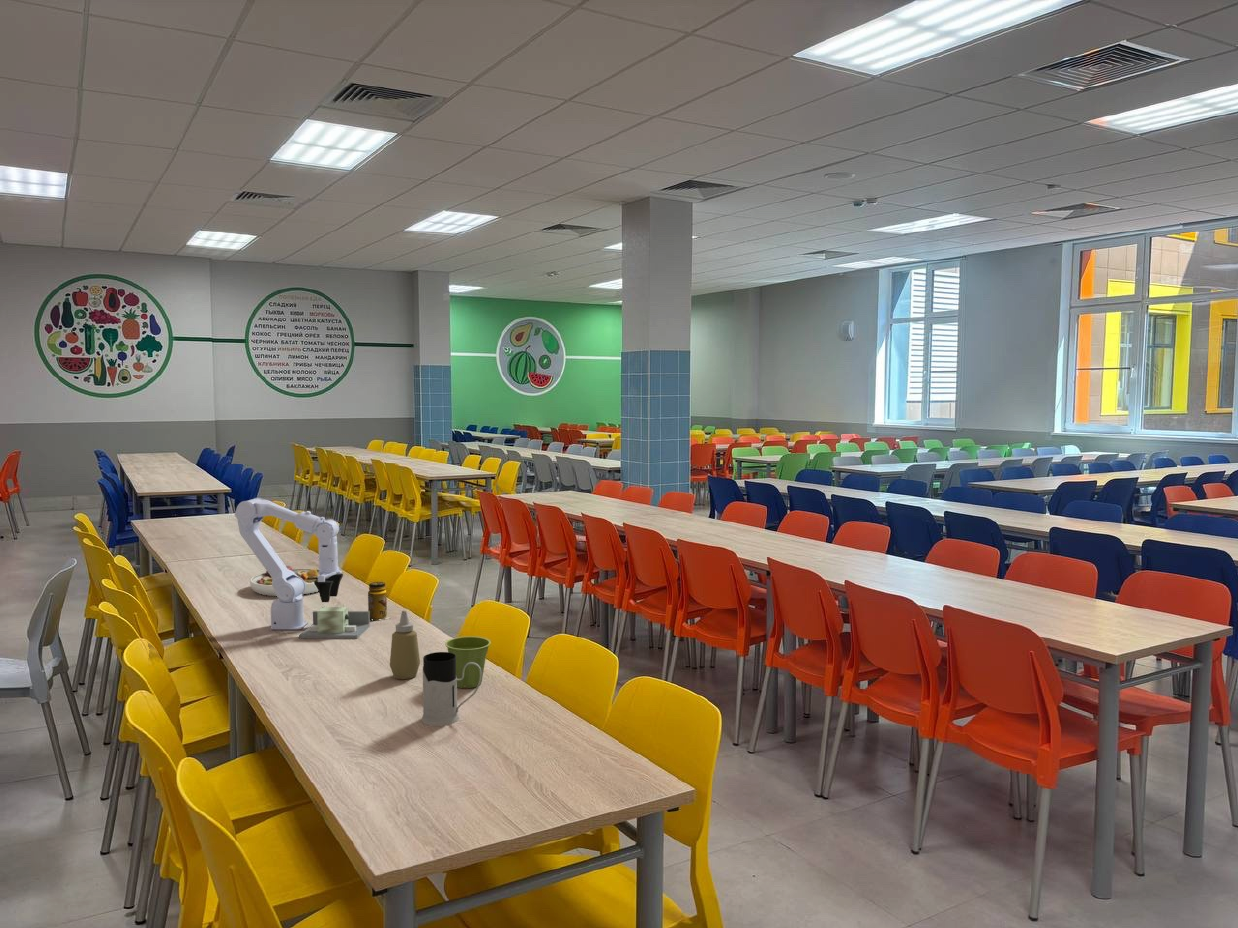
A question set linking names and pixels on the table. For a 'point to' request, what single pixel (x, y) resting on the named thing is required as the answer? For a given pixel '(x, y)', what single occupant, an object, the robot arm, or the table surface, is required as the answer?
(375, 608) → the condiment
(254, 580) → the bowl
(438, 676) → the glass holder
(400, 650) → the squeeze bottle
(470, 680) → the plant pot
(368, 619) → the board
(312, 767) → the table surface
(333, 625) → the block
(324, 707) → the table surface
